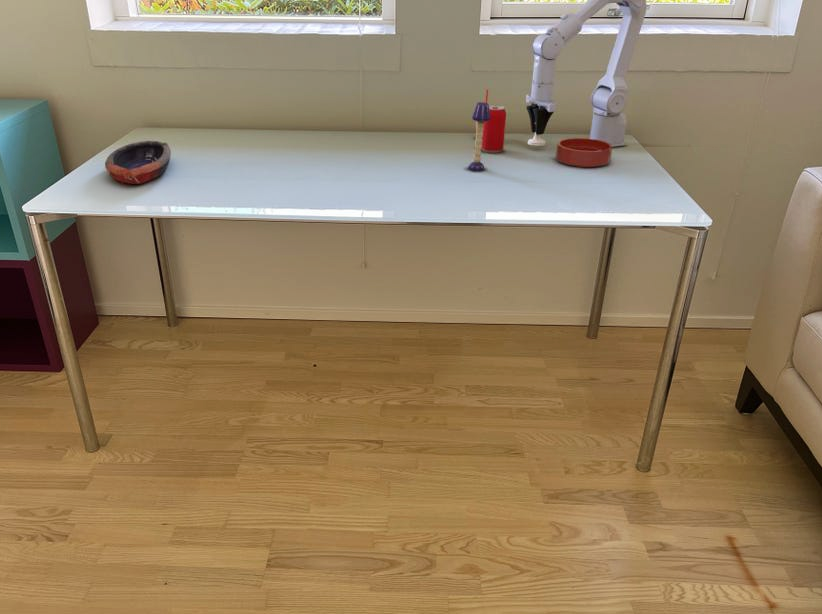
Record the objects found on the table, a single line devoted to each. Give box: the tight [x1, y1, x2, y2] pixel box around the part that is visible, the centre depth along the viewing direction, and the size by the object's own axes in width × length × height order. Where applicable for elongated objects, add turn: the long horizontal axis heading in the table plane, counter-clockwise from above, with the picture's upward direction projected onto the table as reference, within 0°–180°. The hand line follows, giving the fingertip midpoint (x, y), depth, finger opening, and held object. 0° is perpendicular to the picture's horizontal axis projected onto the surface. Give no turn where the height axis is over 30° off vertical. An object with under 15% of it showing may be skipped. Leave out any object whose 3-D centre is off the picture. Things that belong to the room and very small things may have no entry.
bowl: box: [555, 137, 613, 168], centre depth 196 cm, size 14×14×4 cm
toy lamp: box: [467, 101, 490, 172], centre depth 186 cm, size 5×5×17 cm
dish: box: [104, 140, 172, 185], centre depth 186 cm, size 16×31×5 cm, turn 4°
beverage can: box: [481, 104, 507, 154], centre depth 203 cm, size 6×6×12 cm
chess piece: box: [527, 107, 546, 147], centre depth 204 cm, size 5×5×10 cm
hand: (537, 133), depth 205 cm, fingers closed on chess piece
